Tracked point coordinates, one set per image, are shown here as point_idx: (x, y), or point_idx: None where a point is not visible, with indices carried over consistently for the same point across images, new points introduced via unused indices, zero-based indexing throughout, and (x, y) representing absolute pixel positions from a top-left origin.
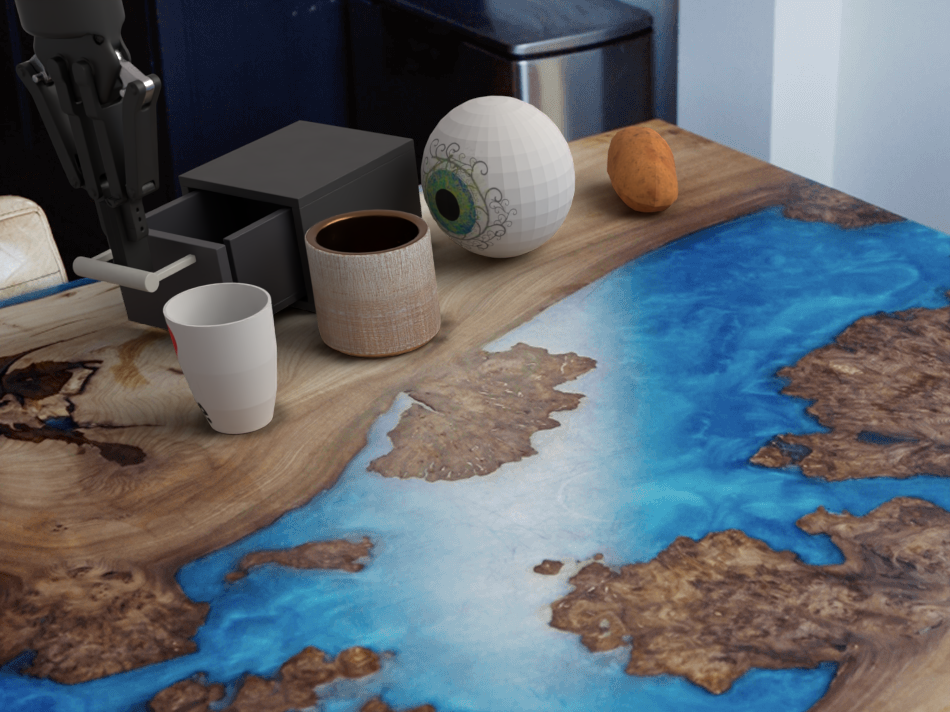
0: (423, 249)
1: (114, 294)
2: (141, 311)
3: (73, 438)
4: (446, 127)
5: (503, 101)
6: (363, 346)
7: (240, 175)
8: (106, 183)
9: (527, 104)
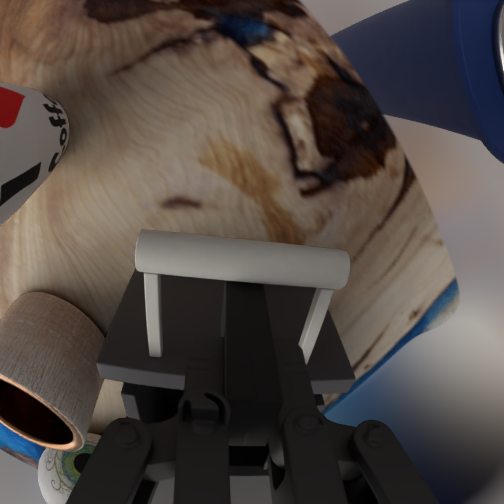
0: None
1: (372, 331)
2: (293, 290)
3: (201, 4)
4: None
5: None
6: (22, 297)
7: (236, 486)
8: (281, 457)
9: None
